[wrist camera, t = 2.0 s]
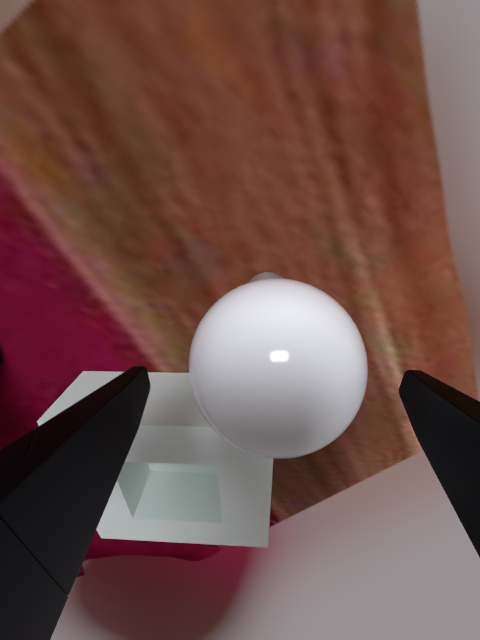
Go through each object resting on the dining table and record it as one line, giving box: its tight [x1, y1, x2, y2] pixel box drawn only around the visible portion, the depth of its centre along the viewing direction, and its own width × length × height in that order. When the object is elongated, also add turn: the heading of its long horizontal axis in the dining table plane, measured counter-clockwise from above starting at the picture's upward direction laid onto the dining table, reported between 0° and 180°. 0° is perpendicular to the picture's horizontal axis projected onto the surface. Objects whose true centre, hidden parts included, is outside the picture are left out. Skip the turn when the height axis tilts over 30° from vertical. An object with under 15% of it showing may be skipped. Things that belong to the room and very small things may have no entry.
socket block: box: [37, 371, 273, 548], centre depth 22 cm, size 15×15×5 cm
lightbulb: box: [189, 272, 368, 459], centre depth 12 cm, size 6×6×11 cm
